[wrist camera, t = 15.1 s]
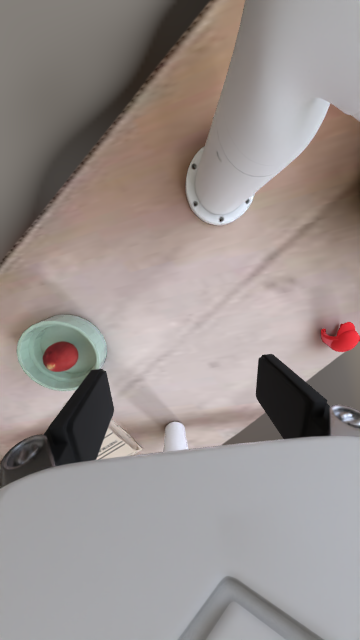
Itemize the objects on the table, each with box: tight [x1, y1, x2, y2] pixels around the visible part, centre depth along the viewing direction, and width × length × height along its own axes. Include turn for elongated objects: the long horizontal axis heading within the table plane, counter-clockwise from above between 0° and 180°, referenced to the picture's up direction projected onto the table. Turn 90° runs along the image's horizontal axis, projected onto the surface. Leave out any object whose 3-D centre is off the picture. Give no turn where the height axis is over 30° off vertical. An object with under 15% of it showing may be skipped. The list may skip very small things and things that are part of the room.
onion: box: [43, 341, 78, 372], centre depth 35 cm, size 6×6×8 cm
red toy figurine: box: [321, 322, 360, 352], centre depth 40 cm, size 8×6×6 cm
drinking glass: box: [163, 422, 188, 452], centre depth 41 cm, size 7×7×15 cm
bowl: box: [17, 315, 107, 391], centre depth 37 cm, size 15×15×5 cm
